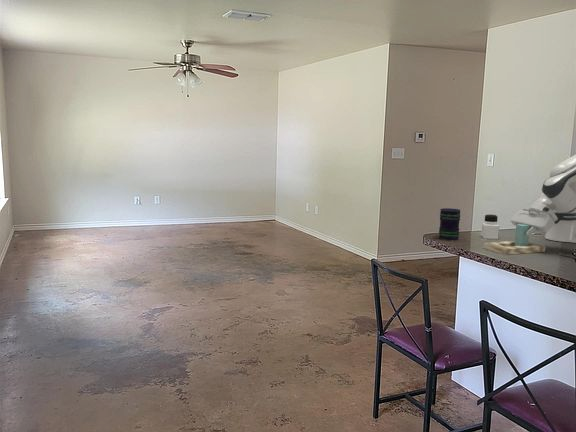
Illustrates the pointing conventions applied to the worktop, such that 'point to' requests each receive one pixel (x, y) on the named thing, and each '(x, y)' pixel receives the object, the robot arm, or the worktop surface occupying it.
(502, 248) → the keyhole board
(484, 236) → the medicine bottle
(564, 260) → the worktop surface
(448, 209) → the storage jar
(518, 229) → the post
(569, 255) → the worktop surface
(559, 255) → the worktop surface
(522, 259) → the worktop surface
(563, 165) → the robot arm
